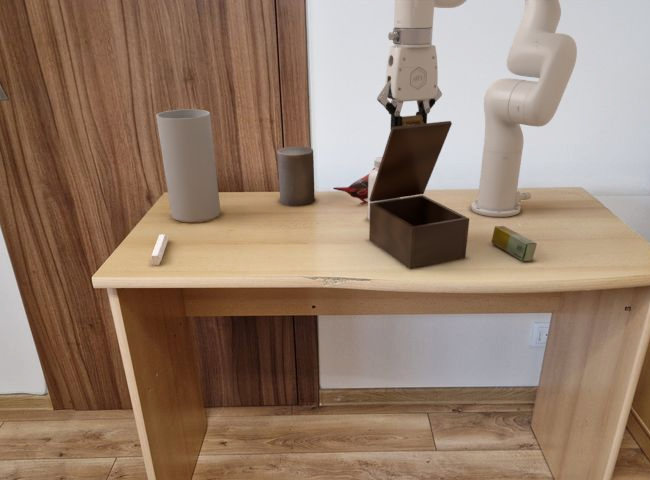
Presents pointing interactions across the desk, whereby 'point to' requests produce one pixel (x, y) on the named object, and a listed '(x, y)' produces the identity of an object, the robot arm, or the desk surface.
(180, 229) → the desk surface
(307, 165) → the pillar candle
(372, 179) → the pill bottle
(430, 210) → the chest
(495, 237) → the medication box
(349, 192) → the decorative bird figurine
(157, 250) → the white rectangular bar
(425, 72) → the robot arm
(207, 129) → the cylinder vase
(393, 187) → the lid
